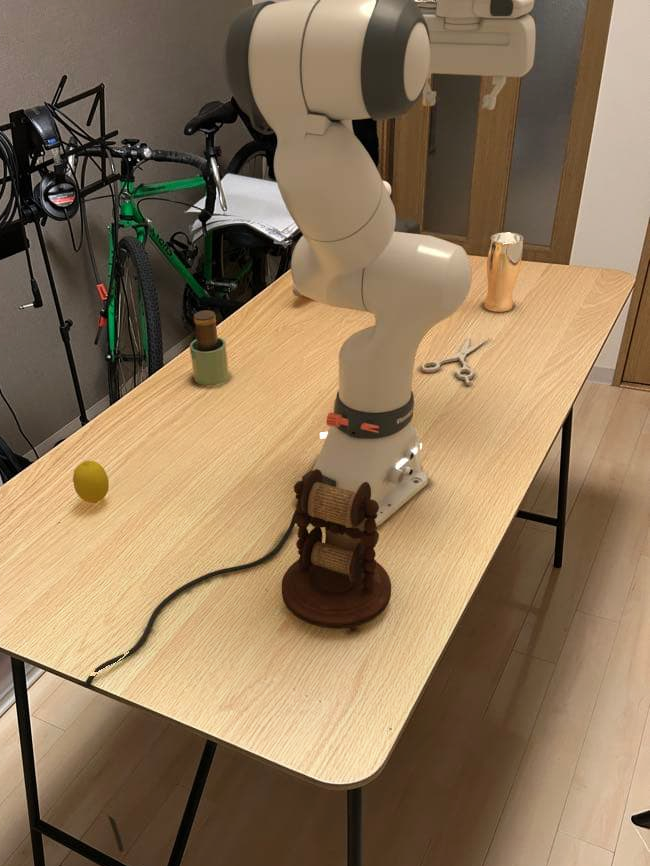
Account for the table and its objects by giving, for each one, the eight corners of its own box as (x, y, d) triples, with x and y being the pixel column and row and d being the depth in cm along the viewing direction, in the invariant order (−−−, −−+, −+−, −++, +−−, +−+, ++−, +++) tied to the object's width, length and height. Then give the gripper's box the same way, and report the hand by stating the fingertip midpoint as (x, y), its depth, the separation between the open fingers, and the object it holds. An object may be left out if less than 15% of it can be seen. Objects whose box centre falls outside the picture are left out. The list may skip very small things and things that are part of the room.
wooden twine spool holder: (406, 581, 114) (415, 461, 101) (363, 651, 105) (366, 529, 92) (312, 551, 120) (308, 436, 108) (262, 615, 111) (252, 496, 98)
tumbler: (216, 390, 160) (213, 355, 155) (187, 383, 163) (182, 348, 158) (235, 374, 164) (232, 339, 160) (206, 368, 168) (202, 333, 163)
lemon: (96, 488, 137) (87, 448, 132) (119, 499, 134) (110, 458, 129) (71, 505, 134) (61, 464, 129) (94, 516, 131) (84, 475, 126)
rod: (214, 382, 161) (207, 320, 153) (197, 378, 163) (189, 317, 155) (225, 373, 164) (219, 312, 156) (208, 369, 166) (201, 308, 157)
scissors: (416, 370, 158) (456, 328, 171) (416, 374, 159) (456, 331, 171) (468, 382, 153) (506, 338, 166) (468, 386, 154) (506, 341, 166)
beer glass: (480, 312, 178) (488, 243, 169) (483, 299, 183) (490, 231, 174) (514, 313, 176) (523, 244, 167) (515, 300, 181) (525, 232, 172)
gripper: (391, 2, 119) (386, 107, 128) (532, 2, 110) (517, 116, 119) (408, -4, 123) (402, 98, 132) (546, -4, 114) (530, 106, 123)
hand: (458, 107), depth 125 cm, fingers open, 8 cm apart
